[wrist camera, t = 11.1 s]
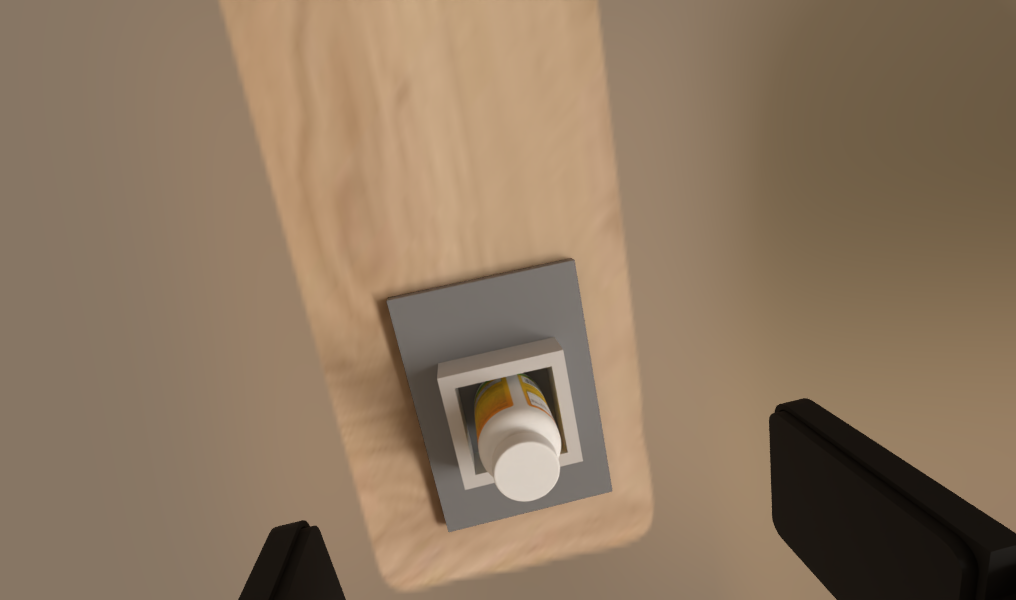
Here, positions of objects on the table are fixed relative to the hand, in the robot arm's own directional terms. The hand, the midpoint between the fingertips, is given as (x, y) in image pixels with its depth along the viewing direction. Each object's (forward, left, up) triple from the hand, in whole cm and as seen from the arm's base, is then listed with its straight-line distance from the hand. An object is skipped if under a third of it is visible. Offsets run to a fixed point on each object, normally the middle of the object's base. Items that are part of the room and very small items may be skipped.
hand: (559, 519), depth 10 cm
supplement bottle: (+10, 0, -27) cm, 28 cm away
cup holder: (+10, 0, -27) cm, 29 cm away
